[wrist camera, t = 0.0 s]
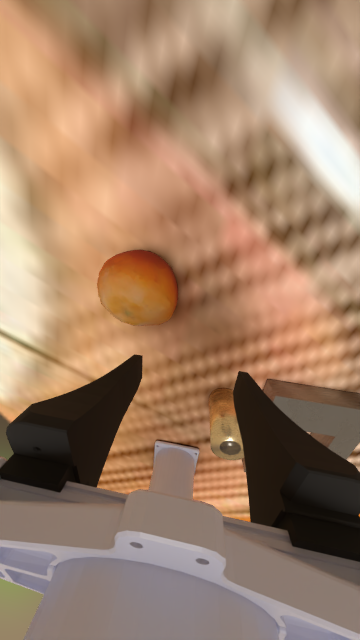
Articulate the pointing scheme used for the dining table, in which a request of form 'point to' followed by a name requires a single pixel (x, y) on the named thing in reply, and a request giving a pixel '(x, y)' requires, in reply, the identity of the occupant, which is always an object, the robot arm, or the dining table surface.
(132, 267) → the fruit
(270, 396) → the jig
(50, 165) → the dining table surface
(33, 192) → the dining table surface
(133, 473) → the dining table surface
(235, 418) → the bushing
